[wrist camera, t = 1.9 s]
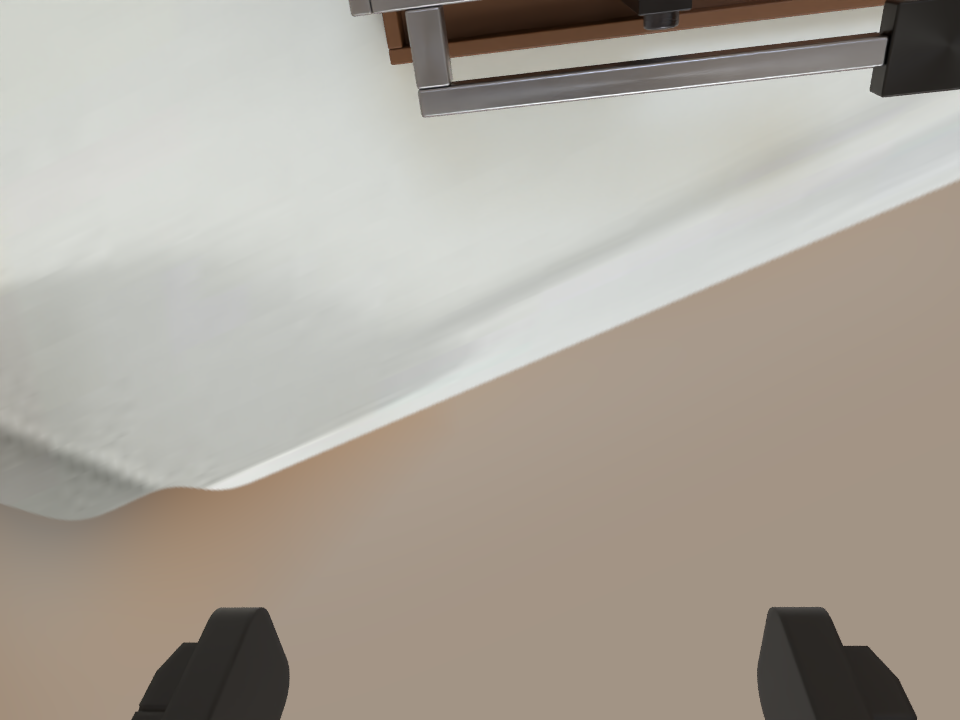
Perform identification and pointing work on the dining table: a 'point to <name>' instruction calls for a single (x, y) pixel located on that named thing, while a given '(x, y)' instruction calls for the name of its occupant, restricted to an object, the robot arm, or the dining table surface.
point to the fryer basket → (692, 61)
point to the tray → (581, 21)
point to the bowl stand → (659, 12)
